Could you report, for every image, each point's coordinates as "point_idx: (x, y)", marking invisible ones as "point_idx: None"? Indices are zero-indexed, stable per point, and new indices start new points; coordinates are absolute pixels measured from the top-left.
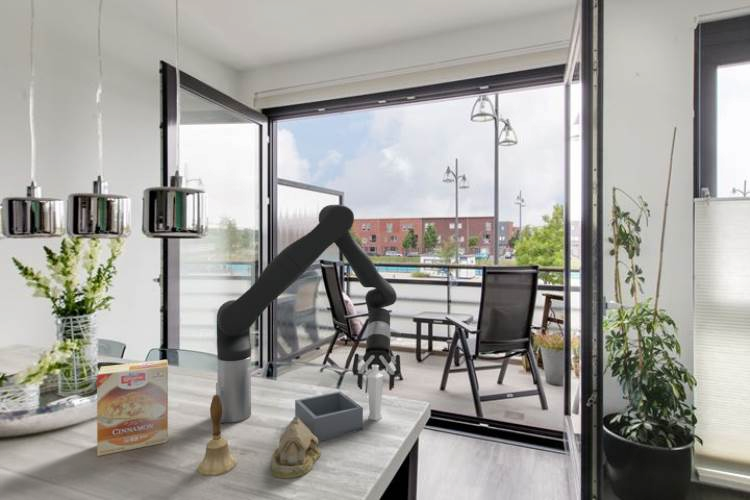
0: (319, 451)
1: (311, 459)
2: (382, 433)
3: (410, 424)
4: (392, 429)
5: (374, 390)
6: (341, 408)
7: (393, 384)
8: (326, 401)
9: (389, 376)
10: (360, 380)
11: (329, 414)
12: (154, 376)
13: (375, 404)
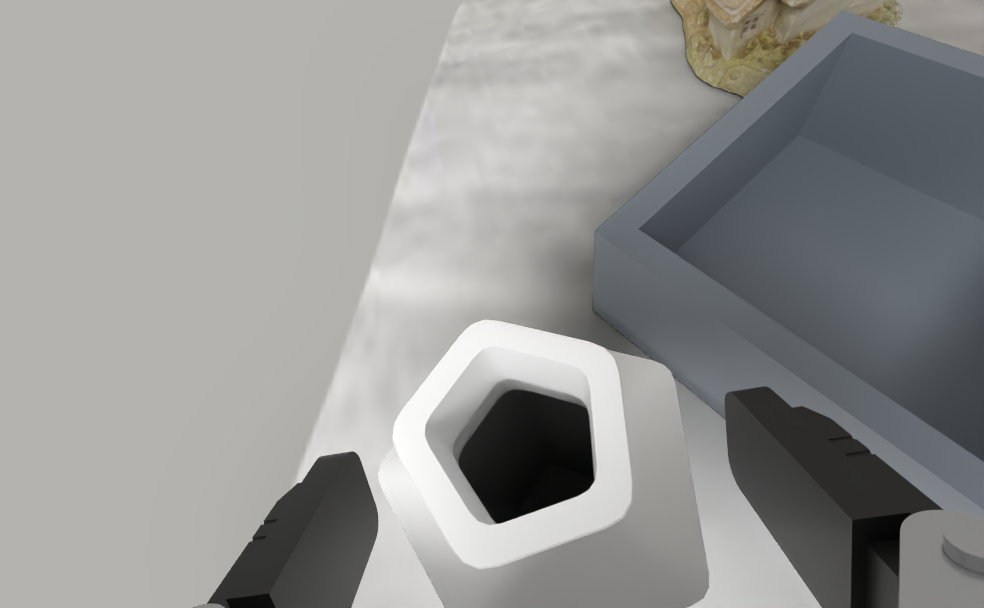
0: (693, 44)
1: (694, 9)
2: (471, 302)
3: (317, 455)
4: (422, 361)
5: (540, 404)
6: None
7: (284, 503)
8: None
9: (280, 573)
10: (799, 426)
11: (784, 77)
12: None
13: (542, 444)
